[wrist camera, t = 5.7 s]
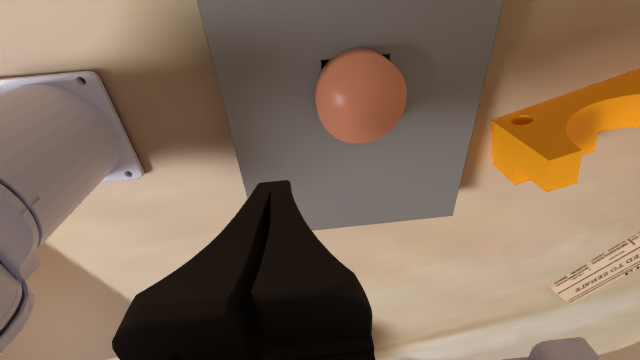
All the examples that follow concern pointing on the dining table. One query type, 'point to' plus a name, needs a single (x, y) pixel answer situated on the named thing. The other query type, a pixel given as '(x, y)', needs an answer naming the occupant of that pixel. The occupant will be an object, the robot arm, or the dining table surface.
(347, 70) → the knob
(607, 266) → the newspaper
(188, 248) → the dining table surface
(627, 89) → the pipe clamp
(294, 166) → the plate
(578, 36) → the dining table surface
